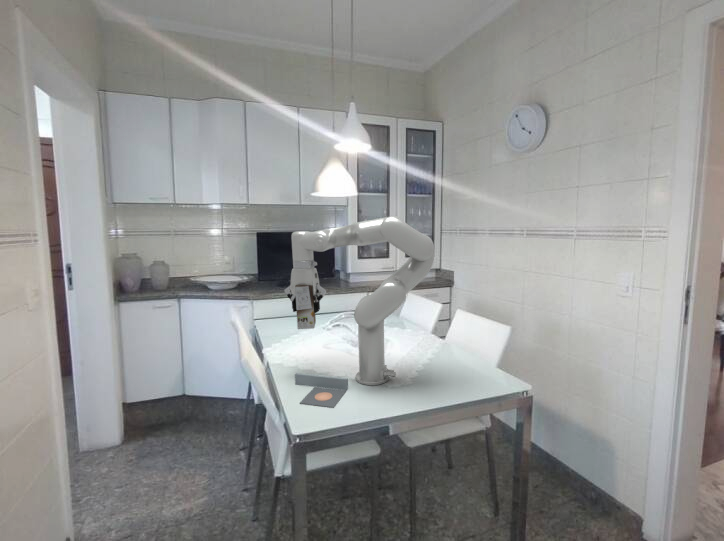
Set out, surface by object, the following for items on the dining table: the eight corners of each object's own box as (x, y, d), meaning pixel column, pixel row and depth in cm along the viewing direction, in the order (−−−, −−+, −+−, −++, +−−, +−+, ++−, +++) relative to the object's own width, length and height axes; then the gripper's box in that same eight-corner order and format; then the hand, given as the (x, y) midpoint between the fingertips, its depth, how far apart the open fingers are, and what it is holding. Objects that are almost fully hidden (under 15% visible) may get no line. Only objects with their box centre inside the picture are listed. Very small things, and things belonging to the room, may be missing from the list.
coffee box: (314, 328, 141) (312, 285, 138) (297, 329, 140) (294, 286, 138) (316, 321, 150) (313, 281, 148) (299, 322, 149) (296, 281, 147)
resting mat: (346, 391, 135) (346, 390, 135) (333, 408, 123) (333, 406, 123) (314, 387, 138) (314, 386, 138) (299, 403, 127) (299, 402, 127)
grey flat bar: (348, 388, 137) (347, 378, 136) (346, 390, 136) (346, 379, 135) (296, 383, 143) (296, 372, 142) (295, 384, 141) (294, 374, 141)
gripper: (329, 263, 143) (331, 310, 145) (287, 263, 148) (289, 308, 150) (321, 266, 136) (323, 315, 138) (277, 266, 141) (280, 313, 143)
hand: (306, 311), depth 144 cm, fingers closed on coffee box, 8 cm apart
